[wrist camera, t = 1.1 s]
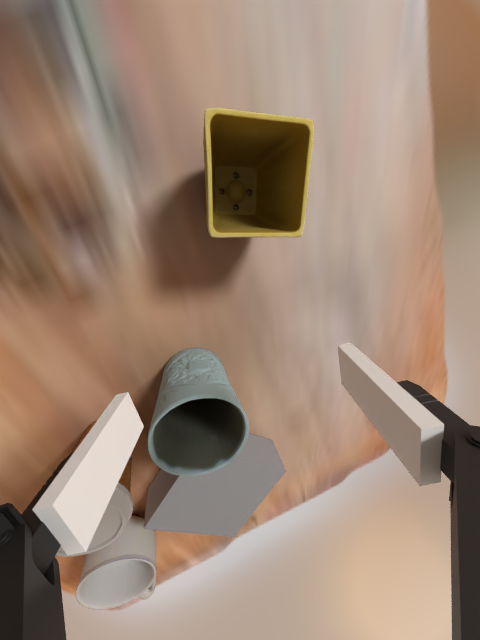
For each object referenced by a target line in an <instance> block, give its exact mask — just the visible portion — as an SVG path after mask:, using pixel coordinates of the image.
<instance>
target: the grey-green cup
mask: <svg viewBox="0 0 480 640" xmlns="http://www.w3.org/2000/svg"><path fill="white" fill-rule="evenodd" d="M248 433H249V422H248V419H247V416H246V413H245V412H244V410H243V408H242V406H241V404H240V402H239V400H238V398H237V396H236V394H235V392H234V390H233V389H232V387H231V384H230V383H229V381H228V378H227V376H226V372H225V369H224V367H223V365H222V363H221V361H220V360H219V358H218V357H217V356H216V355H215V354H213V353H212V352H210V351H208V350H205V349H201V348H190V349H186V350H183V351H180V352H178V353H177V354H175V355H174V356H173V357H172V358H171V359H170V360H169V361H168V362H167V364H166V366H165V368H164V371H163V376H162V382H161V385H160V389H159V393H158V398H157V402H156V406H155V410H154V414H153V417H152V421H151V425H150V429H149V433H148V451H149V454H150V456H151V459H152V460H153V462H154V463H155V464H156V465H157V466H158V467H159V468H161V469H162V470H164V471H166V472H168V473H171V474H174V475H178V476H199V475H204V474H208V473H211V472H214V471H216V470H218V469H220V468H222V467H224V466H225V465H227V464H228V463H230V462H231V461H232V460H233V459H235V457H236V456H237V455H238V454H239V453H240V452H241V450H242V449H243V447H244V445H245V444H246V441H247V438H248Z"/></svg>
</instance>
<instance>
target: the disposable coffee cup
mask: <svg viewBox="0 0 480 640" xmlns="http://www.w3.org/2000/svg"><path fill="white" fill-rule="evenodd" d="M96 422H97V421H95V422H93V423H92V424H90V425H89V426H88V428H87V429H86V431H85V432H84V434H83V436H82V437H81V439H80V440H79V442H78V444H77V445H76V447H75V448H74V450H73V452H72V453H74V452H75V450H76V449H77V448H78V446H79V445H80V444H81V442H82V441H83V439H84V438H85V437H86V435H87V434H88V433H89V431H90V430H91V429H92V427H93V426H94V424H95V423H96ZM131 460H132V453H131V456H130V458H129V460H128V462H127V464H126V466H125V469H124V471H123V473H122V475H121V477H120V479H119V481H118V484H117V486H116V488H115V490H114V492H113V494H112V497H111V499H110V501H109V503H108V505H107V507H106V510H105V512H104V514H103V516H102V518H101V520H100V523H99V525H98V527H97V529H96V531H95V533H94V536H93V538H92V540H91V542H90V544H89V546H88V549H87V551H86V552H83V553H78V554H73V555H67V554H66V553H65V551H64V550H63V549H62V547H61V546H60V548H59V550H58V552H57V554H56V555H55V556H62V557H70V556H80V555H85V554H89V553H92V552H95V551H97V550H100V549H103V548H104V547H106V546H108V545H110V544H111V543H113V542H114V541H115V540H116V539H117V538H118V537H119V536H120V535H121V534H122V532H123V531H124V528H125V526H126V523H127V522H128V521H129V519H130V517H131V515H132V512H133V502H132V499H131V495H130V487H131V483H130V482H131Z"/></svg>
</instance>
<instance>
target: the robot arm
mask: <svg viewBox="0 0 480 640" xmlns="http://www.w3.org/2000/svg"><path fill="white" fill-rule="evenodd" d="M338 354H339V363H340V373H341V382H342V385H343V386H344V387H345V389H346V390H347V391H348V392H349V394H350V395H351V396H352V398H353V399H354V400H355V402H356V403H357V404H358V406H359V407H360V408H361V410H362V411H363V412H364V413H365V415H366V416H367V417H368V419H369V420H370V421H371V423H372V424H373V425H374V427H375V428H376V429H377V431H378V432H379V433H380V434H381V436H382V437H383V438H384V440H385V441H386V442H387V444H388V445H389V446H390V448H391V449H392V450H393V452H394V453H395V454H396V456H397V457H398V458H399V459H400V461H401V462H402V463H403V465H404V466H405V467H406V468H407V470H408V471H409V473H410V474H411V475H412V476H413V478H414V479H415V480H416V482H417V483H418V484H419V486H423V485H428V484H433V483H438V482H441V471H442V472H443V473H444V474H445V475H446V476H447V477H448V478H449V479H450V480H451V485H450V497H449V501H451V580H452V581H451V584H452V640H480V427H479V426H471V425H469V424H468V423H466V422H465V421H464V420H463V419H461V418H460V417H459V416H458V415H456V414H455V413H454V412H452V411H451V410H450V409H449V408H447V407H446V406H445V405H443V404H442V403H441V402H440V401H437V399H436V398H435V397H433V396H432V395H430V394H429V393H428V392H427V391H426V390H424V389H423V388H422V387H421V386H419V385H417V384H414V383H412V382H410V381H408V380H406V381H401V382H395V381H394V380H393V379H392V378H391V377H389V376H388V375H387V374H386V373H385V372H384V371H383V370H381V369H380V368H379V367H378V366H377V365H376V364H375V363H373V362H372V361H371V360H370V359H369V358H368V357H367V356H365V355H364V354H363V353H362V352H361V351H360V350H359V349H357V348H356V347H355V346H354V345H353V344H352V343H351V342H349V343H345V344H340V345H338ZM143 427H144V426H143V423H142V421H141V419H140V417H139V415H138V413H137V410H136V408H135V406H134V404H133V402H132V400H131V397H130V395H129V393H128V392H126V393H122V394H117V395H116V396H115V397H114V398H113V400H112V401H111V403H110V404H109V405H108V407H107V408H106V409H105V411H104V412H103V413H102V415H101V416H100V418H99V419H98V420H97V422H96V423H95V424H94V426H93V427H92V429H91V430H90V431H89V433H88V434H87V435H86V437H85V438H84V439H83V441H82V442H81V444H80V445H79V446H78V448H77V449H76V450H75V452H74V453H71V454H70V455H69V456H68V457H67V458H66V459H65V460H64V461H62V462H61V463H60V465H59V466H58V467H57V469H56V470H55V471H54V473H53V475H52V476H51V477H50V478H49V479H48V481H47V482H46V485H44V486H43V487H42V488H41V490H40V491H39V492H38V494H37V495H36V496H35V498H34V499H33V500H32V502H31V503H30V504H29V506H28V507H27V508H26V510H25V511H24V512H23V514H22V515H21V514H20V513H19V512H18V510H17V509H16V508H15V507H14V505H13V504H10V503H7V504H3V505H0V640H66V633H65V623H64V613H63V603H62V593H61V583H60V574H59V564H58V561H57V559H56V558H55V555H56V554H57V552H58V550H59V548H60V546H61V547H62V549H63V550H64V551H65V553H66V554H67V555H73V554H78V553H83V552H86V551H87V549H88V546H89V544H90V542H91V540H92V538H93V536H94V533H95V531H96V529H97V527H98V525H99V523H100V520H101V518H102V516H103V514H104V512H105V510H106V507H107V505H108V503H109V501H110V499H111V497H112V494H113V492H114V490H115V488H116V486H117V484H118V481H119V479H120V477H121V475H122V473H123V471H124V469H125V466H126V464H127V462H128V460H129V458H130V456H131V453H132V451H133V449H134V447H135V445H136V443H137V440H138V438H139V436H140V434H141V432H142V430H143Z"/></svg>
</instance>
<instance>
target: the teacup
mask: <svg viewBox="0 0 480 640" xmlns="http://www.w3.org/2000/svg"><path fill="white" fill-rule="evenodd" d="M144 520H145V519H143V518H141V517H139V516H134V515H131V517H130V519H129V521H128V522H127V523H126V526H125V528H124V531H123V532H122V534H121V535H120V536H119V537H118V538H117V539H116V540H115V541H114V542H113V543H111V544H110V545H108V546H106V547H104V548H103V549H100V550H97V551H95V552H92V553H89V554H87V555H86V558H85V561H84V565H83V569H82V573H81V577H80V581H79V584H78V586H77V589H76V599H77V601H78V603H79V604H80V605H82V606H84V607H86V608H90V609H98V610H100V609H109V608H114V607H118V606H121V605H123V604H126V603H128V602H130V601H132V600H134V599H135V598H137V597H140V598H141V599H144V600H145V599H147V598H149V597H150V596H151V595H152V594H153V592H154V590H155V586H156V537H155V531H154V530H148V529H144Z"/></svg>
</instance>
